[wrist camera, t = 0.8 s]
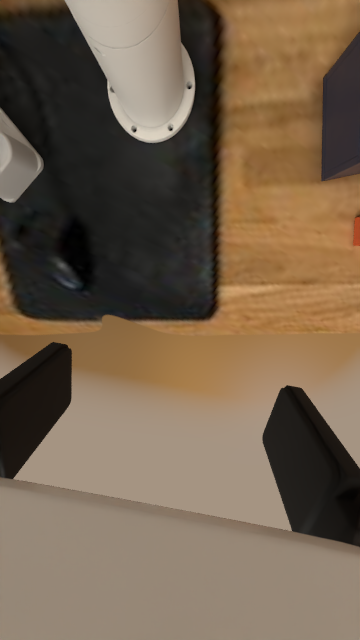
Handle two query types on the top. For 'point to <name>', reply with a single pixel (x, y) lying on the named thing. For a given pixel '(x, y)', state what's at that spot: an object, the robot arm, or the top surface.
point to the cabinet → (342, 115)
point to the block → (357, 232)
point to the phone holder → (16, 161)
